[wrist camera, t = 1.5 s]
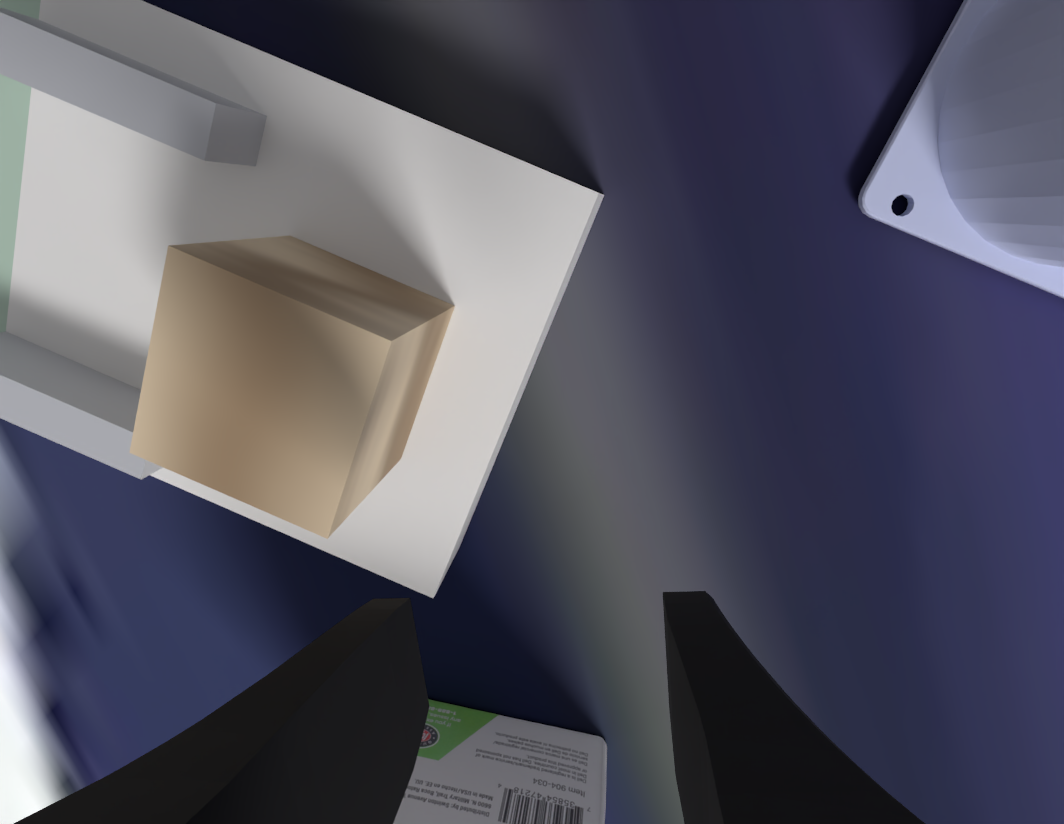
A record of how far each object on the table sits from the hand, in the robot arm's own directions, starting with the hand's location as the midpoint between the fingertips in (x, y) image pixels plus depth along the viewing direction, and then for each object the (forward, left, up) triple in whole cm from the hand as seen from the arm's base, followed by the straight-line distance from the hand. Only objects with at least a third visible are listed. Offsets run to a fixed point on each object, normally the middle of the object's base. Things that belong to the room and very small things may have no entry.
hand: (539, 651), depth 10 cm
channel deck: (+16, 0, -10) cm, 19 cm away
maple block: (+7, 0, -7) cm, 10 cm away
